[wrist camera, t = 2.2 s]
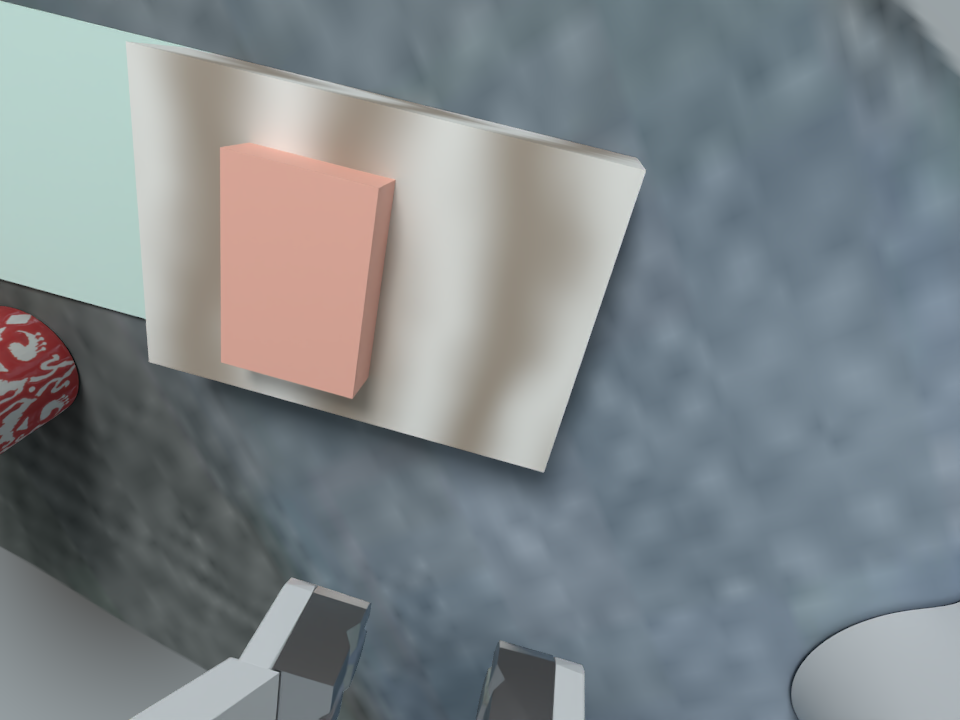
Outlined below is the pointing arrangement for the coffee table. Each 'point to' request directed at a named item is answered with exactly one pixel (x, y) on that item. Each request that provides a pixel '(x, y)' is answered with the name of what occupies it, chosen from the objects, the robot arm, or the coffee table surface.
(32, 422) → the mug
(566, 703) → the robot arm
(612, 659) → the coffee table surface
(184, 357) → the striped beige block
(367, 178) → the salmon pink eraser
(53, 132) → the mat
